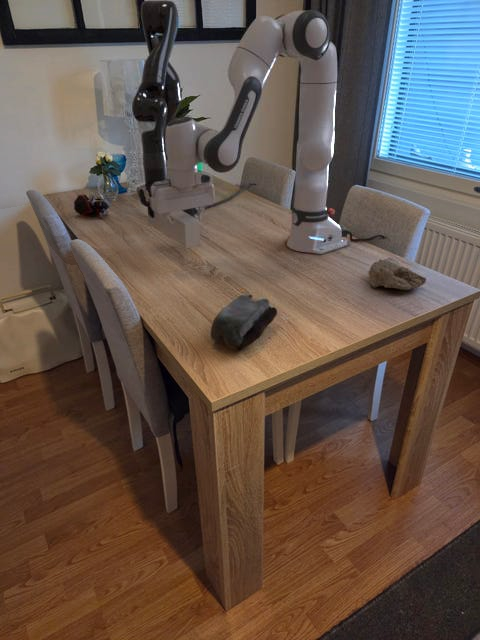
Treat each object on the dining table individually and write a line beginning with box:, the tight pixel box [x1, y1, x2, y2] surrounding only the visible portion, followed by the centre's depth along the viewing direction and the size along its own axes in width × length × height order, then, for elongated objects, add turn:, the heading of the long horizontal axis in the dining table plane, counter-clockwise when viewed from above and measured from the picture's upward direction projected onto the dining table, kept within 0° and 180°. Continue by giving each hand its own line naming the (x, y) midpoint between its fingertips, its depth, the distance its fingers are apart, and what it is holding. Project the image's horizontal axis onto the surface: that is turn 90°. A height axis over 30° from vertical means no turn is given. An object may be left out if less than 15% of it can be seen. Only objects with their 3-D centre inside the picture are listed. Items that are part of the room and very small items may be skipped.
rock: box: [210, 294, 278, 352], centre depth 109 cm, size 18×11×8 cm, turn 152°
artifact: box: [368, 257, 427, 291], centre depth 135 cm, size 18×8×15 cm
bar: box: [146, 206, 202, 249], centre depth 146 cm, size 28×5×8 cm, turn 34°
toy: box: [73, 194, 111, 220], centre depth 187 cm, size 12×9×15 cm
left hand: (160, 215), depth 153 cm, fingers closed on bar, 5 cm apart
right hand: (184, 222), depth 138 cm, fingers open, 8 cm apart
